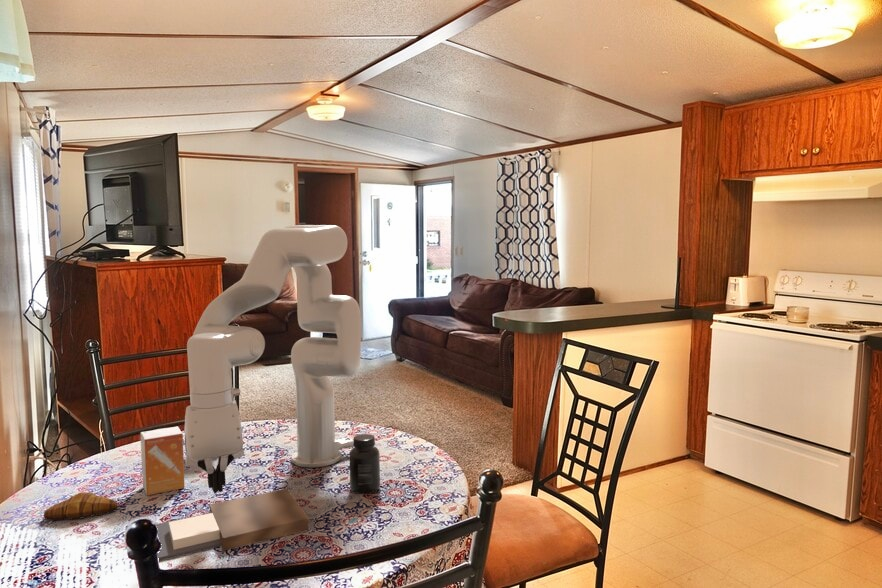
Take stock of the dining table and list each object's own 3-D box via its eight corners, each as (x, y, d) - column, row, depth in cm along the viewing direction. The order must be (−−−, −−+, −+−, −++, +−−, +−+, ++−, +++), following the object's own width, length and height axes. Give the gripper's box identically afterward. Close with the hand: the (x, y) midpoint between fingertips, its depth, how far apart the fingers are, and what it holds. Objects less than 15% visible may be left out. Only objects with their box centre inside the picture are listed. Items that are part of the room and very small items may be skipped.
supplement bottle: (385, 485, 140) (385, 434, 139) (370, 496, 134) (369, 444, 133) (360, 480, 143) (359, 430, 142) (343, 491, 137) (343, 439, 135)
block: (212, 521, 121) (212, 512, 121) (219, 538, 114) (219, 529, 114) (169, 531, 117) (168, 522, 117) (173, 549, 110) (173, 540, 110)
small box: (146, 496, 134) (143, 439, 133) (142, 486, 139) (139, 431, 138) (185, 488, 138) (183, 432, 137) (180, 479, 144) (177, 425, 142)
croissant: (121, 504, 131) (120, 482, 130) (114, 518, 124) (113, 495, 124) (49, 512, 127) (48, 489, 126) (38, 527, 120) (37, 503, 120)
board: (287, 499, 133) (287, 488, 132) (309, 529, 119) (308, 518, 118) (209, 515, 125) (209, 504, 125) (223, 550, 111) (223, 538, 111)
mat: (215, 514, 125) (214, 511, 125) (227, 544, 113) (227, 541, 113) (150, 528, 119) (150, 525, 119) (156, 561, 107) (156, 558, 107)
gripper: (247, 387, 122) (252, 474, 125) (167, 399, 115) (173, 491, 117) (256, 397, 116) (260, 488, 118) (171, 409, 109) (177, 507, 111)
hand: (217, 489), depth 118 cm, fingers closed
